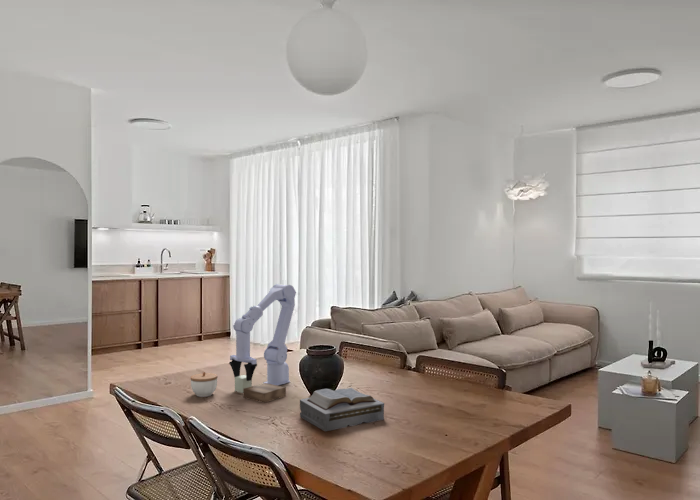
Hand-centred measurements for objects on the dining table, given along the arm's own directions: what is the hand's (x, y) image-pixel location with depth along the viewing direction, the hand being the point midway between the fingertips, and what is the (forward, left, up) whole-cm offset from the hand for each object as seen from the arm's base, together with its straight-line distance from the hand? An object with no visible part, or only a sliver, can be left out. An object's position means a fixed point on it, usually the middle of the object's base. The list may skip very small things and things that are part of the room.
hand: (243, 379), depth 234 cm
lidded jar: (+14, -8, -5) cm, 17 cm away
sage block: (0, 0, -5) cm, 5 cm away
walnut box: (+1, +14, -5) cm, 15 cm away
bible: (+4, +56, -6) cm, 56 cm away
